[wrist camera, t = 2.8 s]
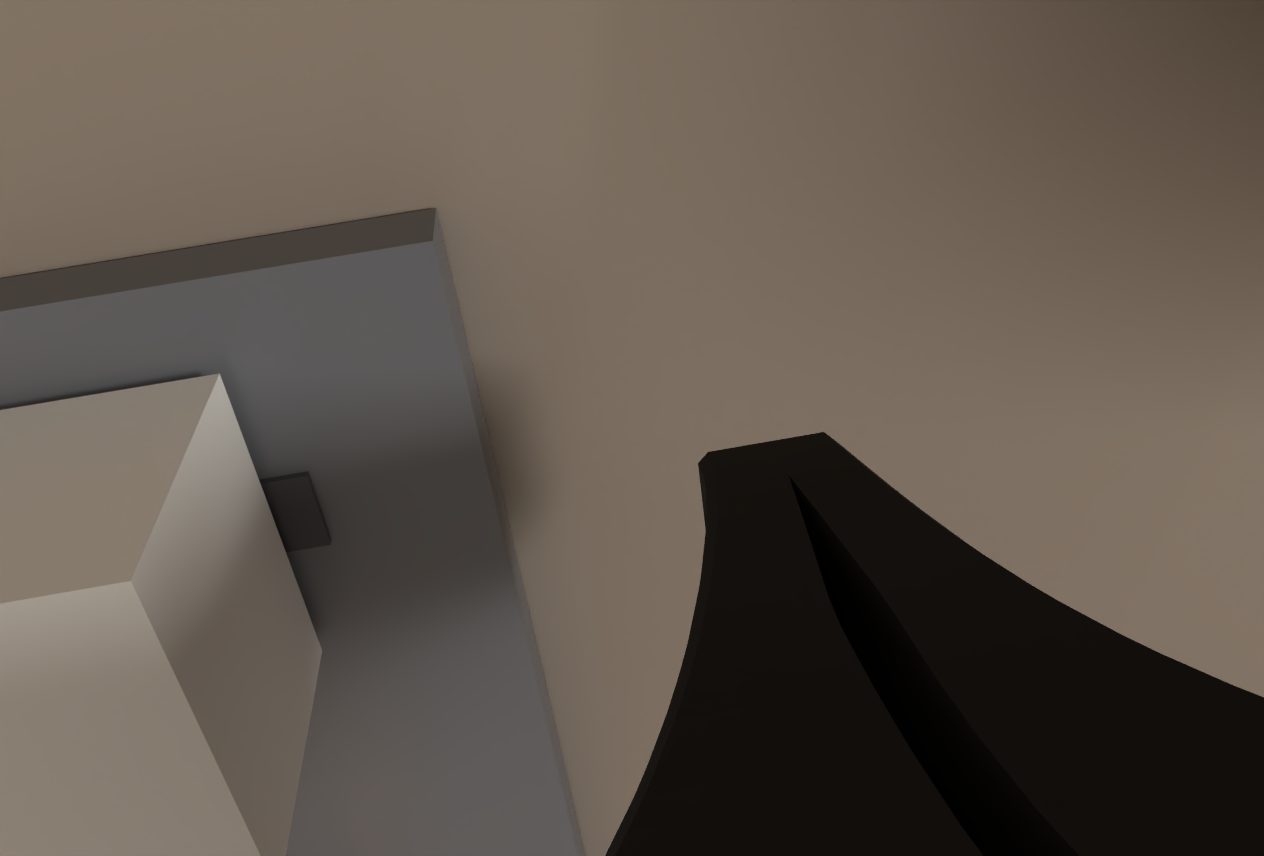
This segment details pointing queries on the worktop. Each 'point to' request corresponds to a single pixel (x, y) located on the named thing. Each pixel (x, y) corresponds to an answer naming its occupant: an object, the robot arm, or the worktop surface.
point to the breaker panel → (348, 512)
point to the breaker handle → (146, 632)
